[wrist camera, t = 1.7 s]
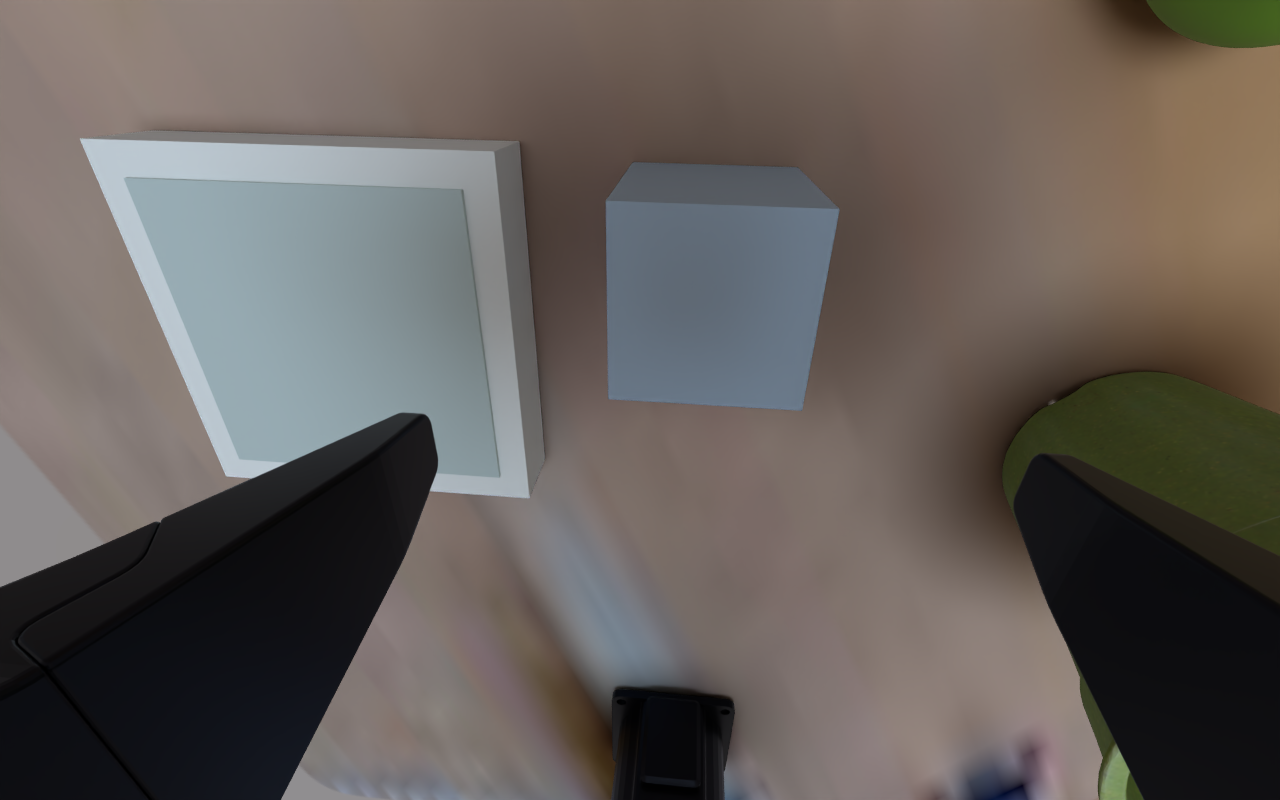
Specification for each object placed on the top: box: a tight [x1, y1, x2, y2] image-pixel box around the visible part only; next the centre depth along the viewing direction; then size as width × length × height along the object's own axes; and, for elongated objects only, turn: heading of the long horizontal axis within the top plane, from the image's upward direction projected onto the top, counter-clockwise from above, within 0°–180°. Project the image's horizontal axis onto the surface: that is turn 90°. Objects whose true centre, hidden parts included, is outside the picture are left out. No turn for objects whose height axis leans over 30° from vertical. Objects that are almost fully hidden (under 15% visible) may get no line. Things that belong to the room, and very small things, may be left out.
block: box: [606, 162, 840, 411], centre depth 16 cm, size 5×5×6 cm
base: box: [80, 130, 545, 498], centre depth 20 cm, size 12×12×3 cm
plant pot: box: [1002, 372, 1280, 800], centre depth 16 cm, size 12×12×11 cm
